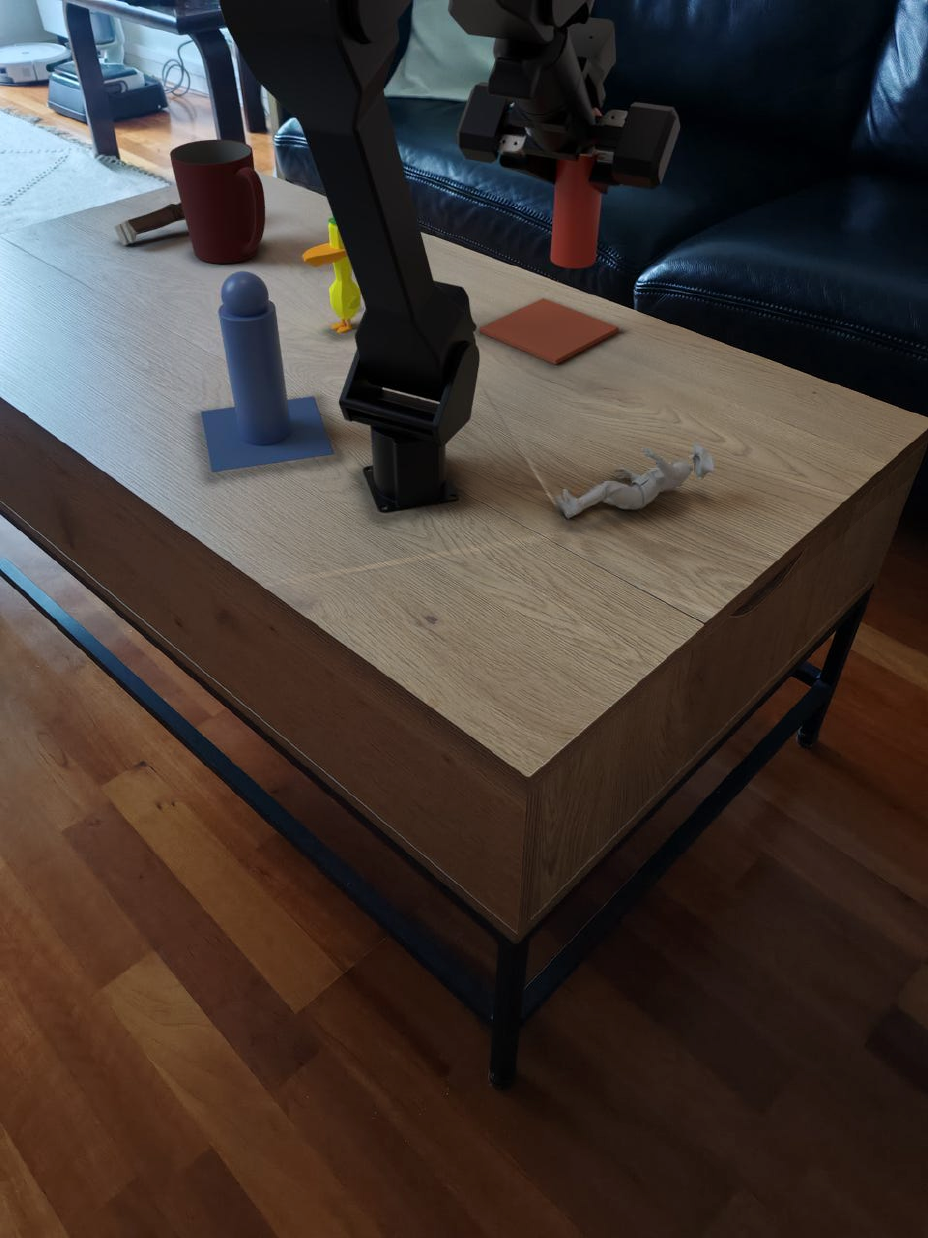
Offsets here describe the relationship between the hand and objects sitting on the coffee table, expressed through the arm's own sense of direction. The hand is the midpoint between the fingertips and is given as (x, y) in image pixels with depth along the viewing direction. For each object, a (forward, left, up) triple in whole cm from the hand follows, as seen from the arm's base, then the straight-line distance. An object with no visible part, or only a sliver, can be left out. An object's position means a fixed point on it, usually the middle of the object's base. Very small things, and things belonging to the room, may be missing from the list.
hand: (584, 185), depth 91 cm
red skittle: (-1, +1, -7) cm, 7 cm away
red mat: (-2, +3, -13) cm, 14 cm away
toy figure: (+4, +23, -14) cm, 27 cm away
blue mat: (-14, +33, -13) cm, 39 cm away
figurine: (+35, +36, -14) cm, 52 cm away
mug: (+27, +31, -14) cm, 44 cm away
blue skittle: (-14, +33, -13) cm, 39 cm away
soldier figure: (-32, +7, -14) cm, 36 cm away
